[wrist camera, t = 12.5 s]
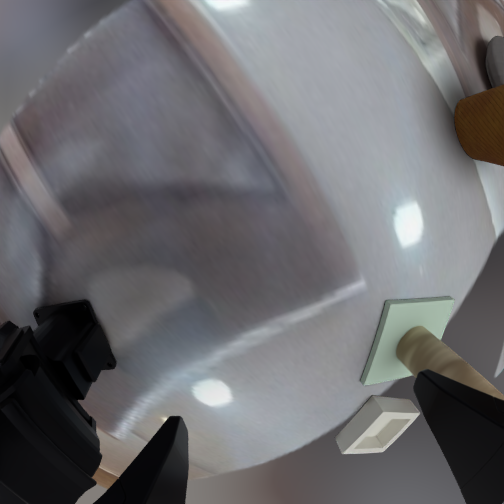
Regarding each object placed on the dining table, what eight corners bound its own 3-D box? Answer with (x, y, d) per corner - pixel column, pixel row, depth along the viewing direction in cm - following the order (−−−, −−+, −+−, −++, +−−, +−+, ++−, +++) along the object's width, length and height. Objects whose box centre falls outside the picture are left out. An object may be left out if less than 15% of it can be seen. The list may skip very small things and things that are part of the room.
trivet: (360, 381, 24) (363, 385, 23) (386, 300, 22) (390, 304, 21) (423, 367, 25) (427, 371, 24) (450, 296, 23) (454, 299, 22)
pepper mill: (400, 367, 23) (486, 469, 8) (392, 342, 22) (495, 455, 7) (429, 344, 23) (522, 432, 8) (424, 318, 22) (535, 411, 7)
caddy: (334, 437, 26) (342, 453, 24) (372, 395, 25) (383, 411, 22) (374, 437, 28) (382, 452, 25) (409, 399, 27) (420, 413, 24)
